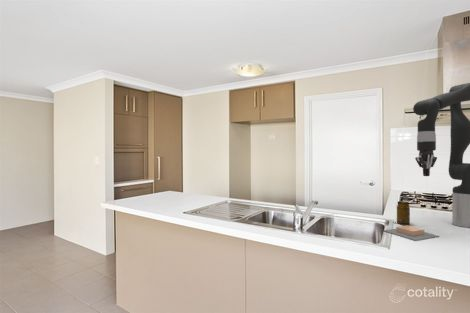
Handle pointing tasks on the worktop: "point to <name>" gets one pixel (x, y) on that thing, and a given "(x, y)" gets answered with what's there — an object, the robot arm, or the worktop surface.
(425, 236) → the mat
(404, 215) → the condiment
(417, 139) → the robot arm
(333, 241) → the worktop surface
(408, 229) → the tile
